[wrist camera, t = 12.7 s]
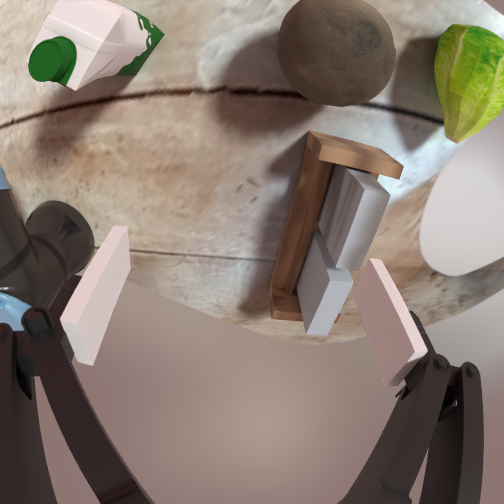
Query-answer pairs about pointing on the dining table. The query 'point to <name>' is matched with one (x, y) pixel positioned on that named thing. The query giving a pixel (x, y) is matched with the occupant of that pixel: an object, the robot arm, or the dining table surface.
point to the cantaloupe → (336, 51)
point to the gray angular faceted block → (321, 287)
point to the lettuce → (469, 79)
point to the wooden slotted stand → (330, 212)
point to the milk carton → (91, 43)
